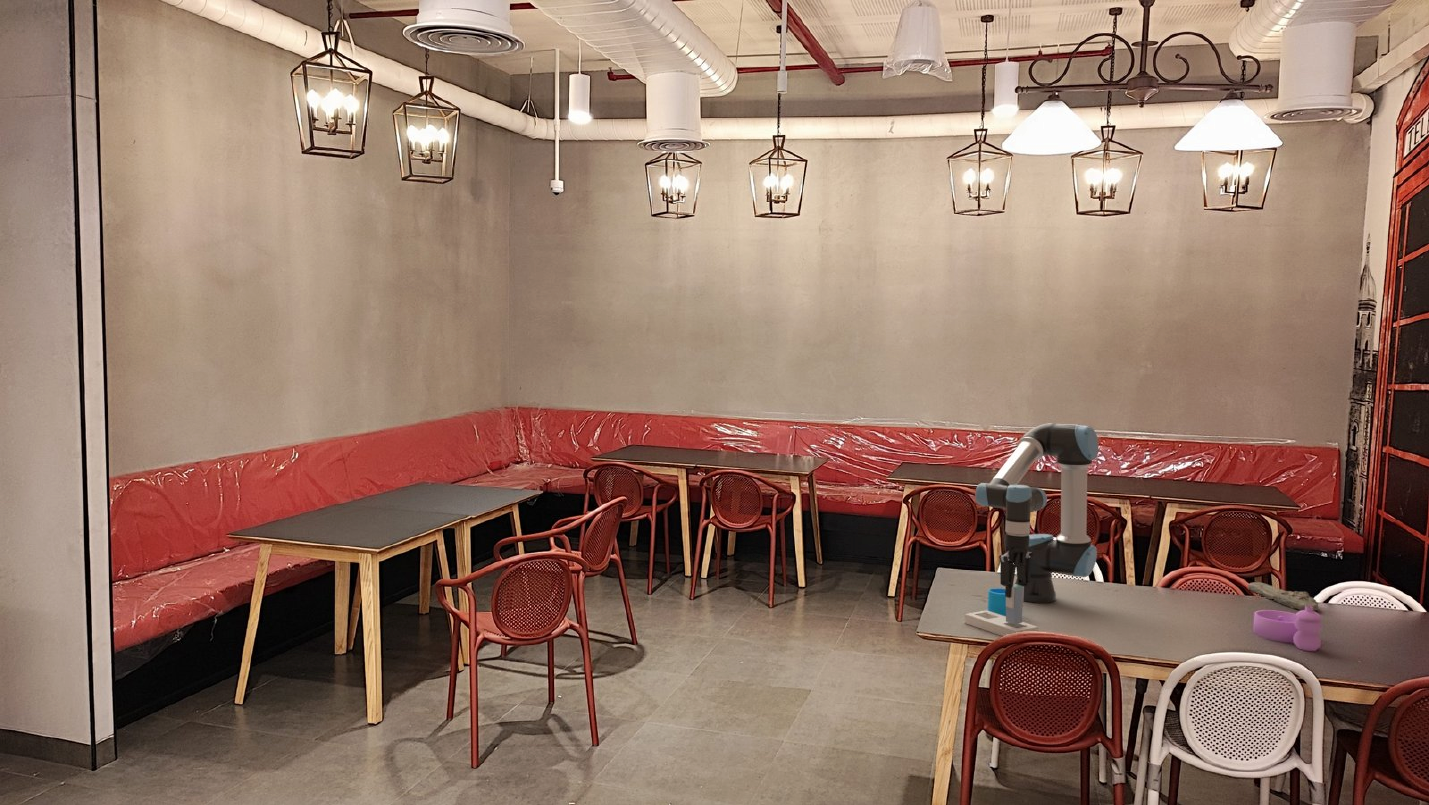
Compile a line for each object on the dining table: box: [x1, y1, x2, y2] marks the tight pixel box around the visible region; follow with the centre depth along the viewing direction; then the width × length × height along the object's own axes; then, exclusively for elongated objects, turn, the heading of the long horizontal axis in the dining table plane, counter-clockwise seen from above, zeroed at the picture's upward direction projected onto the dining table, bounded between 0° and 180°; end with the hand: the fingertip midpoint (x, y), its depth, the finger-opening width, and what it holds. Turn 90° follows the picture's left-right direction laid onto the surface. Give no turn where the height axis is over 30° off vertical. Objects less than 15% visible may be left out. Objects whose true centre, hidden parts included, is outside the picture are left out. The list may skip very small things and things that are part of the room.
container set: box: [1252, 606, 1323, 652], centre depth 325 cm, size 25×15×13 cm, turn 3°
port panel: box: [964, 609, 1039, 637], centre depth 331 cm, size 22×10×3 cm, turn 31°
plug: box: [1006, 583, 1024, 624], centre depth 325 cm, size 4×4×12 cm
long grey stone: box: [1247, 581, 1319, 612], centre depth 375 cm, size 35×5×10 cm
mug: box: [987, 587, 1006, 616], centre depth 350 cm, size 12×8×8 cm
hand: (1014, 606), depth 326 cm, fingers closed on plug, 3 cm apart
